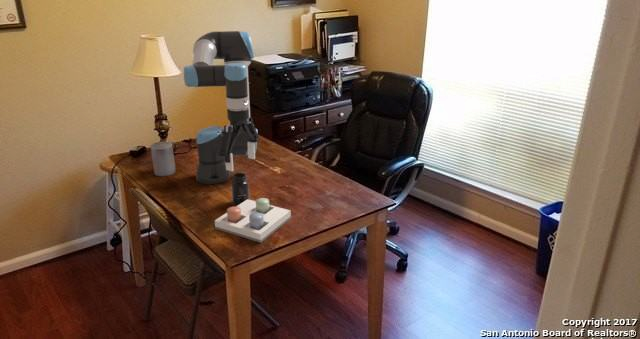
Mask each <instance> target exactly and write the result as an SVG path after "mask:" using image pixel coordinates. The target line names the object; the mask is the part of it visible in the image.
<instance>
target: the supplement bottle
mask: <svg viewBox="0 0 640 339" xmlns="http://www.w3.org/2000/svg"><path fill="white" fill-rule="evenodd" d="M246 175H247V174H245V173H243V172H239V173H238V172H237V173H235V174H233V181H232V182H231V186H230V187H231V201H232V204H233V205H234V206H238V205H239V204H241V203H243V202H244V201H246V200H247V199H249V200H250V190H249V189H250V188H249V182H248V180H247V177H246Z"/></svg>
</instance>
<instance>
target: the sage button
mask: <svg viewBox="0 0 640 339" xmlns="http://www.w3.org/2000/svg"><path fill="white" fill-rule="evenodd" d="M255 201H256V211H257V212H259V213H267V212H269V205H270V200H269V198H266V197H260V198H257V199H256V200H255Z"/></svg>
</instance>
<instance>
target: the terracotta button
mask: <svg viewBox="0 0 640 339" xmlns="http://www.w3.org/2000/svg"><path fill="white" fill-rule="evenodd" d="M226 213H227V220H228V222H232V223H236V222H239V221H241V209H240V208H239V207H236V206H230V207H228V208H227V209H226Z"/></svg>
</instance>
